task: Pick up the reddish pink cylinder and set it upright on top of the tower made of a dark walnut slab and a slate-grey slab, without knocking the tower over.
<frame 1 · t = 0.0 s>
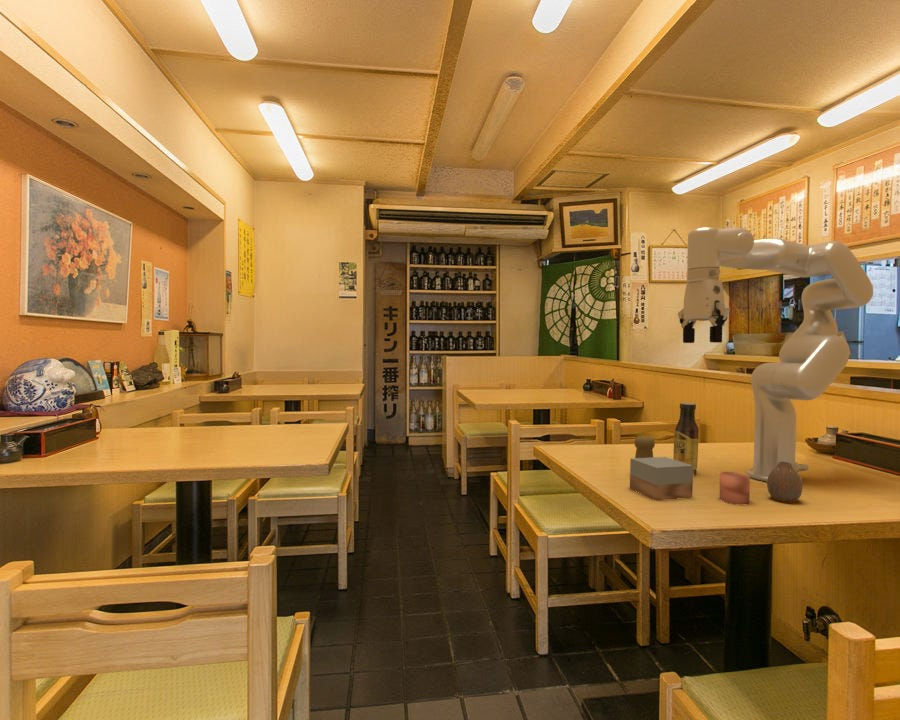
hand: (701, 342, 130), 37 cm above the table, tool pointing down, fingers open, 9 cm apart
reddish pink cylinder: (734, 500, 115), on the table
tower bottom block: (660, 494, 121), on the table
cork: (643, 477, 137), on the table
sauce bottle: (685, 473, 141), on the table
tower top block: (660, 478, 121), point 4 cm above the table
brown egg-shaped piece: (784, 501, 116), on the table
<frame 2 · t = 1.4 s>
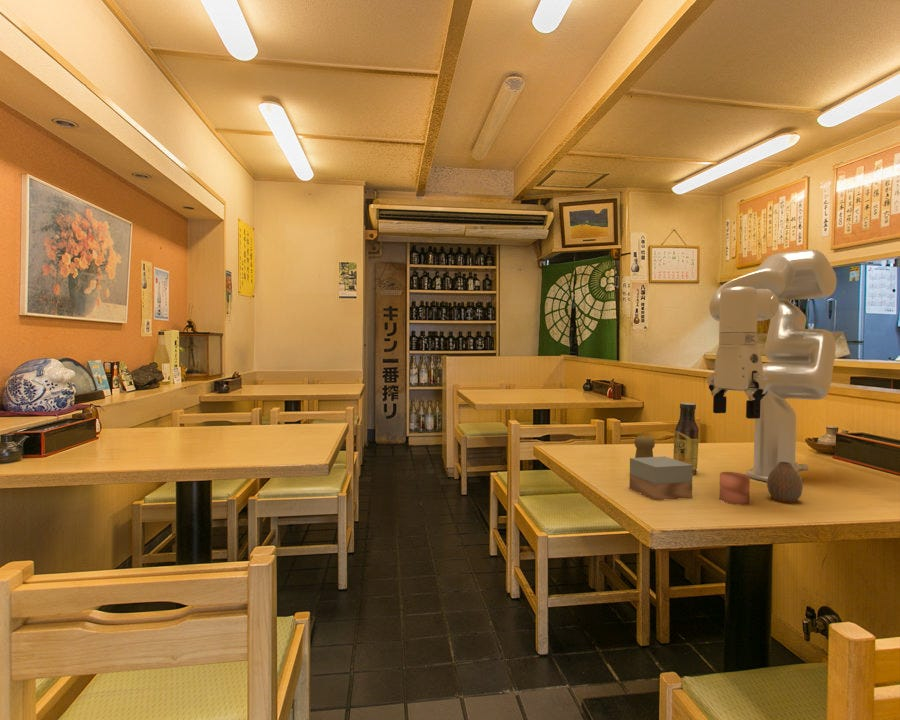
hand: (735, 415, 115), 20 cm above the table, tool pointing down, fingers open, 9 cm apart
tower bottom block: (659, 494, 121), on the table, touching tower top block
tower top block: (660, 477, 121), point 4 cm above the table, touching tower bottom block
everything else where it was.
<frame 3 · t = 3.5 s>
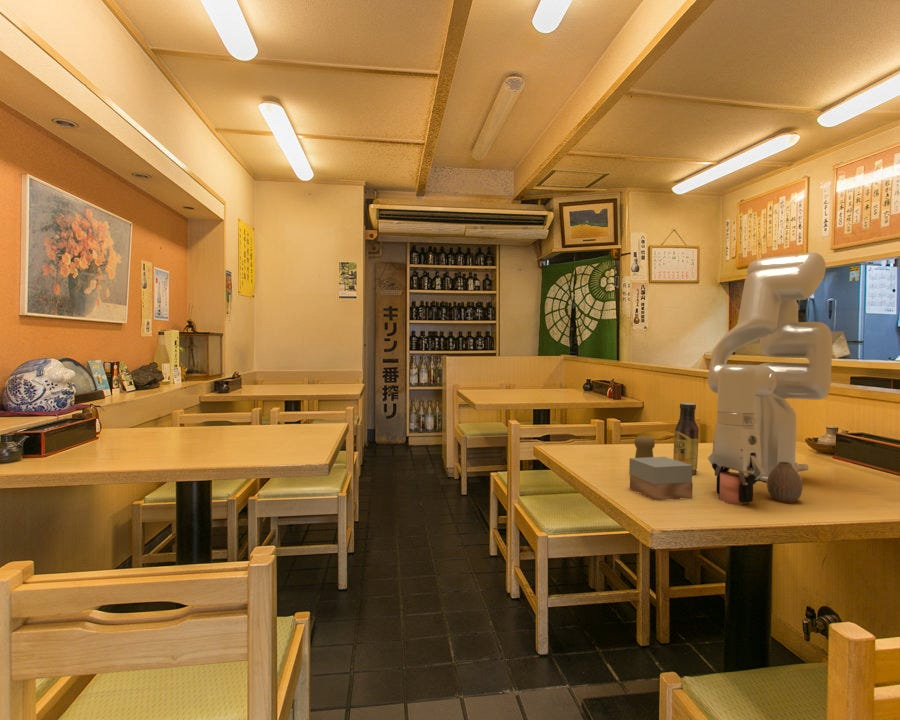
hand: (734, 496, 115), 1 cm above the table, tool pointing down, fingers closed on reddish pink cylinder, 6 cm apart
reddish pink cylinder: (734, 500, 115), on the table, touching gripper
everything else where it was.
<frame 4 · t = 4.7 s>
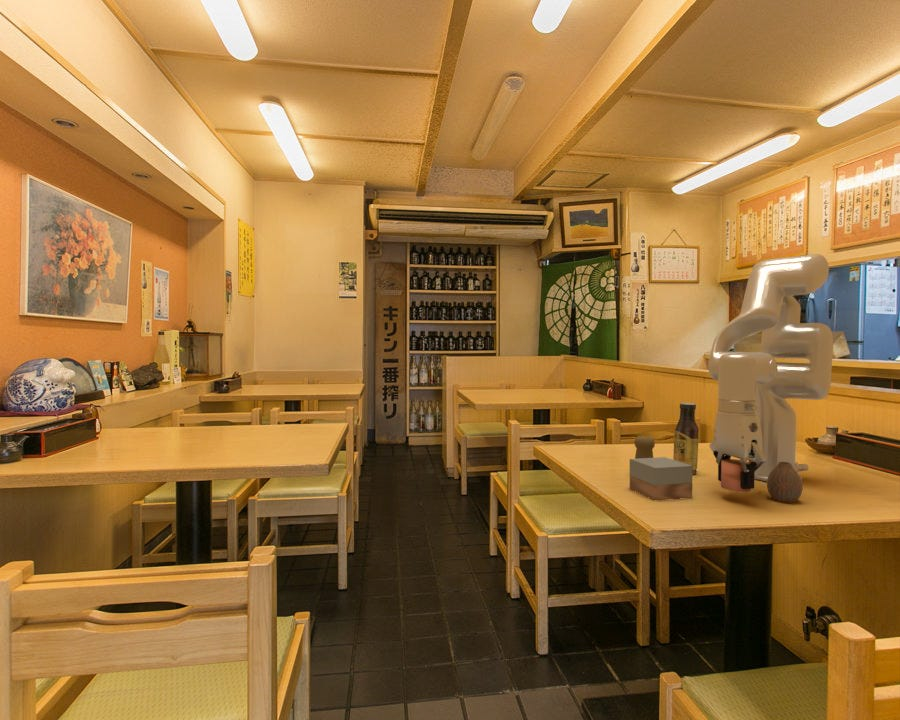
hand: (735, 483, 116), 4 cm above the table, tool pointing down, fingers closed on reddish pink cylinder, 6 cm apart
reddish pink cylinder: (735, 487, 116), point 3 cm above the table, touching gripper
everything else where it was.
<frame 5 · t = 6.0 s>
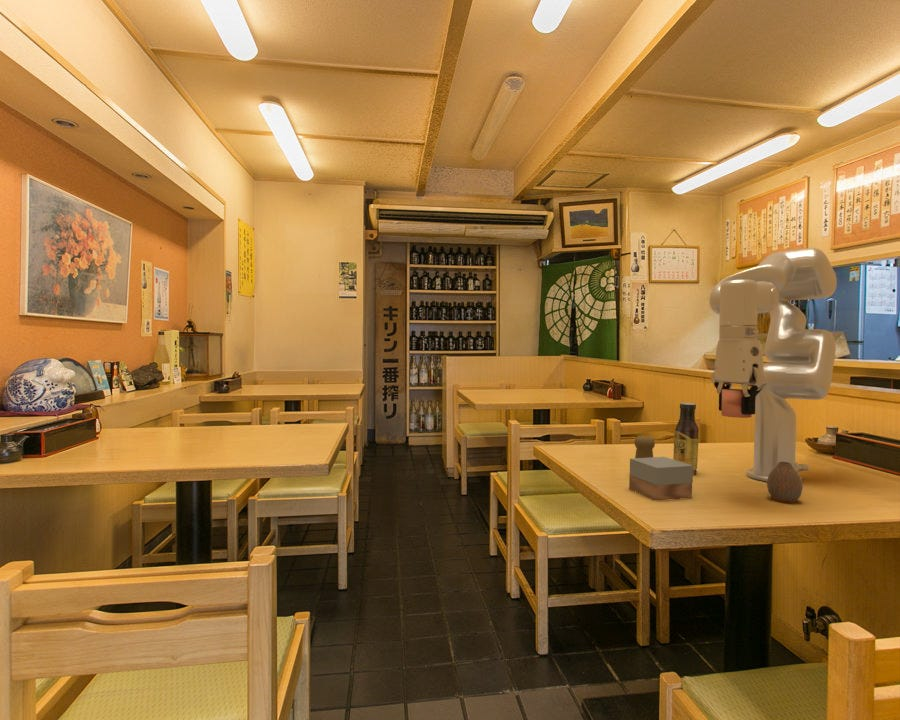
hand: (736, 411, 115), 21 cm above the table, tool pointing down, fingers closed on reddish pink cylinder, 6 cm apart
reddish pink cylinder: (736, 415, 115), point 20 cm above the table, touching gripper
everything else where it was.
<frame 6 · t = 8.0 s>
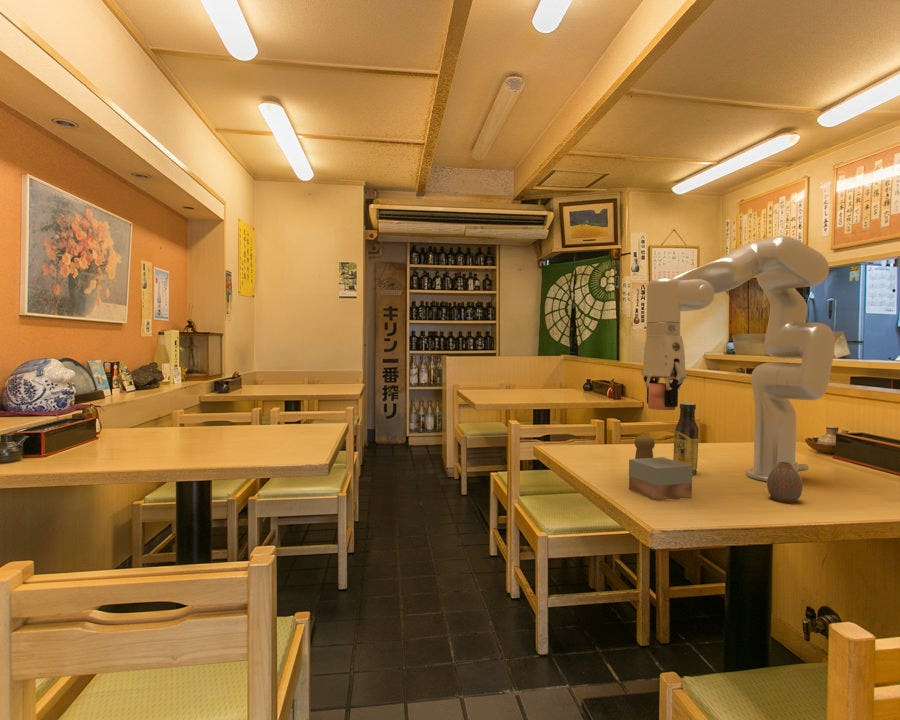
hand: (661, 404, 121), 21 cm above the table, tool pointing down, fingers closed on reddish pink cylinder, 6 cm apart
reddish pink cylinder: (661, 408, 121), point 21 cm above the table, touching gripper
everything else where it was.
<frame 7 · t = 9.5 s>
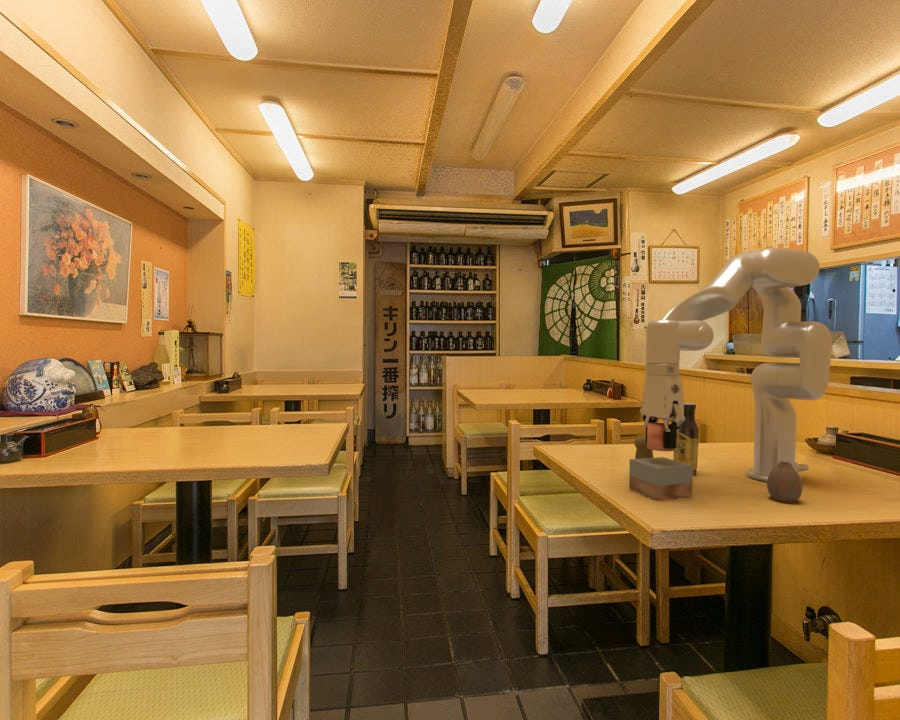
hand: (660, 445, 121), 12 cm above the table, tool pointing down, fingers closed on reddish pink cylinder, 6 cm apart
reddish pink cylinder: (660, 448, 121), point 11 cm above the table, touching gripper
everything else where it was.
when the fingers open (11 cm above the table, at t = 11.0 s): reddish pink cylinder drops 2 cm, resting on tower top block.
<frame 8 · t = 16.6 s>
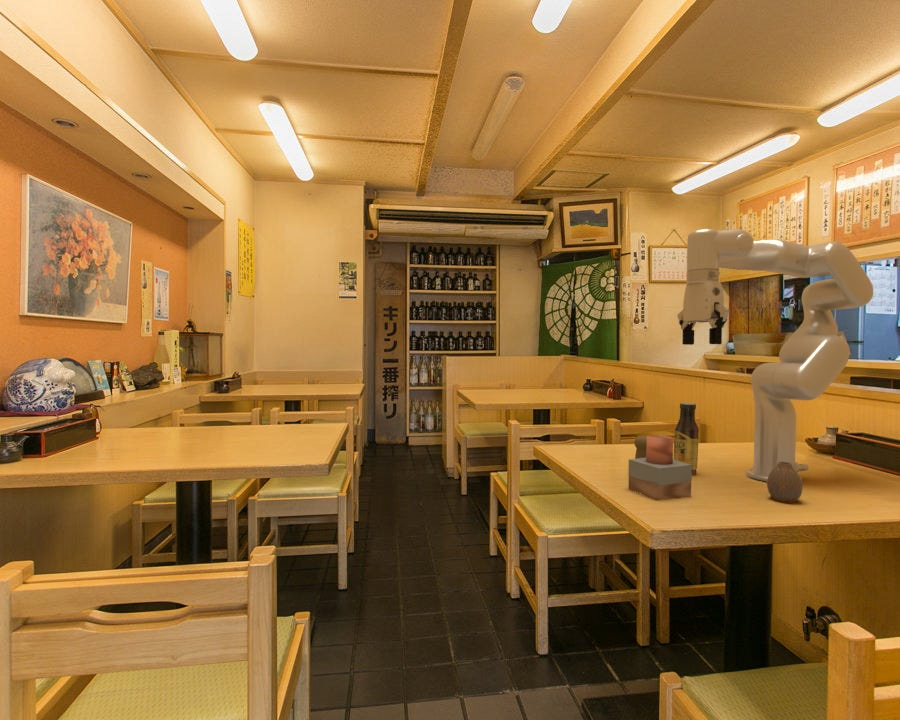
hand: (701, 344, 130), 36 cm above the table, tool pointing down, fingers open, 9 cm apart
reddish pink cylinder: (659, 461, 122), point 8 cm above the table, touching tower top block
tower top block: (659, 478, 121), point 3 cm above the table, touching tower bottom block, reddish pink cylinder
everything else where it was.
at the end: reddish pink cylinder inside the target area on the tower top block (0.2 cm from its centre), point 4.0 cm above the tower top block's base; reddish pink cylinder tilted 1°; tower top block 0.0 cm off-centre on the tower bottom block, point 4.0 cm above the tower bottom block's base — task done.
